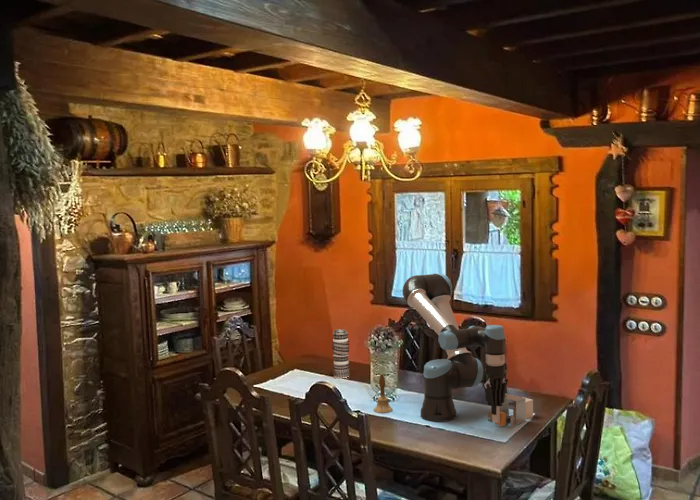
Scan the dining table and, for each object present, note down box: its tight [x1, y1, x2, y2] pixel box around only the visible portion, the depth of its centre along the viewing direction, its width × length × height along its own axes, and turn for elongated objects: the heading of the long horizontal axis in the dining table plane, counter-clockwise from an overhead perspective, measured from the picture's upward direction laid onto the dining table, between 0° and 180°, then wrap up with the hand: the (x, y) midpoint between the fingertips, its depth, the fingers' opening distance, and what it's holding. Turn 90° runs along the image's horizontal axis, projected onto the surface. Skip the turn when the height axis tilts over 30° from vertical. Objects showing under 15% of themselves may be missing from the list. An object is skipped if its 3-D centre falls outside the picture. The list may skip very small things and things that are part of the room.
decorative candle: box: [331, 328, 351, 380], centre depth 351 cm, size 9×9×25 cm
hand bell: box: [373, 373, 393, 414], centre depth 293 cm, size 8×8×16 cm
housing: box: [487, 392, 527, 429], centre depth 274 cm, size 10×13×10 cm
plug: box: [494, 396, 534, 427], centre depth 276 cm, size 19×5×7 cm, turn 128°
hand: (496, 421), depth 269 cm, fingers closed
